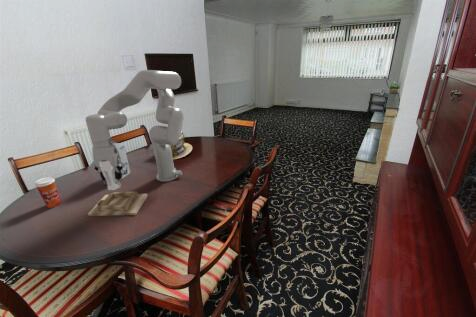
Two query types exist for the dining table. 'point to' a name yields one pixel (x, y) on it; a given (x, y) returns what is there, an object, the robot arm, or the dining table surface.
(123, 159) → the hard drive box
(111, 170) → the beer glass
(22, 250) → the dining table surface
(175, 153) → the gold white round stack
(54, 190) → the paper cup
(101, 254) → the dining table surface
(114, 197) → the pocket board
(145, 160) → the dining table surface
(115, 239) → the dining table surface
